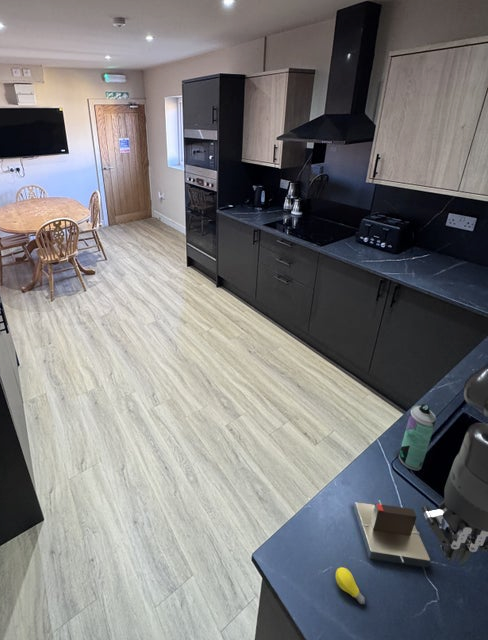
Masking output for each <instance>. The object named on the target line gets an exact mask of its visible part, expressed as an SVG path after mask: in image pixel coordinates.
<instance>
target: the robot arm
mask: <svg viewBox="0 0 488 640" xmlns="http://www.w3.org/2000/svg"><path fill="white" fill-rule="evenodd" d="M462 390H463V391H462V394H463V399H464V400H465V403H467V405H468V406H469V407H471V408H472V409H473V410H474V411H476V412H477V413H478V414H480V415H481V416H483V417H484V418H486V419H487V420H488V365H487V366H485V367H482V368H480V369H478V370H476V371H475V372H474V373H471V375H470V376H469V377H468V378H467V379H466V380H465V383H464V385H463V389H462ZM443 494H444V495H443V496H444V499H443V501H441V502H440V503H439V505H438V509H433V510H431V509H430V507H428V506H425V505H424V506H421V511H422V514H423V515H424V518H425V520H426V521H427V524H428V526H429V527H430V529H431V531H432V532H433V534H434V536H435V537H436V539H437V540H438V542H439V546H440V547H439V548H440V549H441V551H442V553H443V555H444V557H445V558H446V559H447V561H448V562H452V563H455V560H456V559H457V560H458V562H459V563H460V564H467V561H469V560H470V558H471V557H472V553H475V552H477V551H478V549H481V550H482V551H483V552H488V540H486V538H487V537H488V423H487V422H475V423H472V424H471V425H469V426H468V429H467V430H466V432H465V435H464V438H463V440H462V443H461V446H460V449H459V451H458V453H457V454H456V456H455V458H454V459H453V462H452V465H451V468H450V470H449V474H448V477H447V480H446V483H445V486H444V490H443ZM443 521H444V525H443V526H442V523H443Z"/></svg>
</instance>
